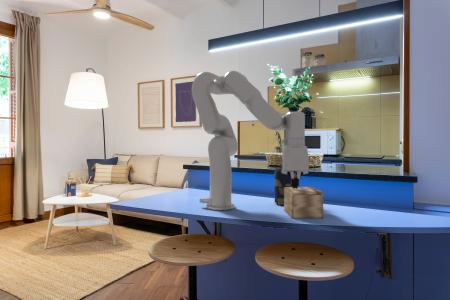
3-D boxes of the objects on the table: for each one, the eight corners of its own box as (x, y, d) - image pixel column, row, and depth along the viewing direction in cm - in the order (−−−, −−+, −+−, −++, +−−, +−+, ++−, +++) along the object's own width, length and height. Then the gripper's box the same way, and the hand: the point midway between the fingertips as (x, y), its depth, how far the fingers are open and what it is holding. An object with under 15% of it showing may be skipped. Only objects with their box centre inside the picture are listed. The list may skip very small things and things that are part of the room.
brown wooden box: (291, 218, 124) (292, 195, 124) (284, 210, 138) (284, 189, 138) (322, 218, 124) (323, 194, 124) (312, 210, 138) (312, 189, 138)
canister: (295, 206, 145) (295, 166, 145) (273, 206, 147) (274, 166, 147) (294, 202, 155) (295, 165, 154) (274, 202, 157) (275, 164, 156)
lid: (292, 194, 124) (292, 192, 124) (284, 189, 138) (284, 187, 138) (323, 194, 124) (323, 192, 124) (312, 188, 138) (312, 186, 138)
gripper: (278, 142, 126) (278, 189, 127) (316, 142, 126) (315, 189, 127) (274, 142, 134) (274, 186, 134) (310, 142, 134) (310, 186, 135)
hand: (294, 188), depth 131 cm, fingers closed
